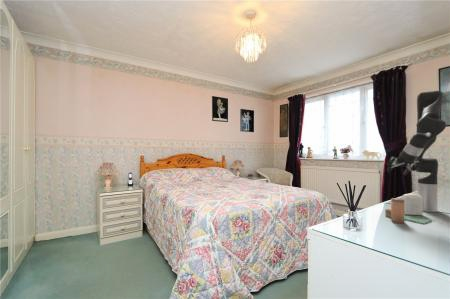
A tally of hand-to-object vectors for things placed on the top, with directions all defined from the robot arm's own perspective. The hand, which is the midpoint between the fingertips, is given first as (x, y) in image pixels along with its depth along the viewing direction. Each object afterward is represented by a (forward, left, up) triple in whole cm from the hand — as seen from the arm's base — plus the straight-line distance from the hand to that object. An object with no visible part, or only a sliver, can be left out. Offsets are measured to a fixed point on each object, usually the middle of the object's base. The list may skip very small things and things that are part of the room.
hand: (396, 173), depth 129 cm
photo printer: (-11, +4, -25) cm, 28 cm away
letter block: (+5, 0, -25) cm, 26 cm away
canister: (+13, +6, -25) cm, 29 cm away
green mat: (+1, +10, -25) cm, 27 cm away
